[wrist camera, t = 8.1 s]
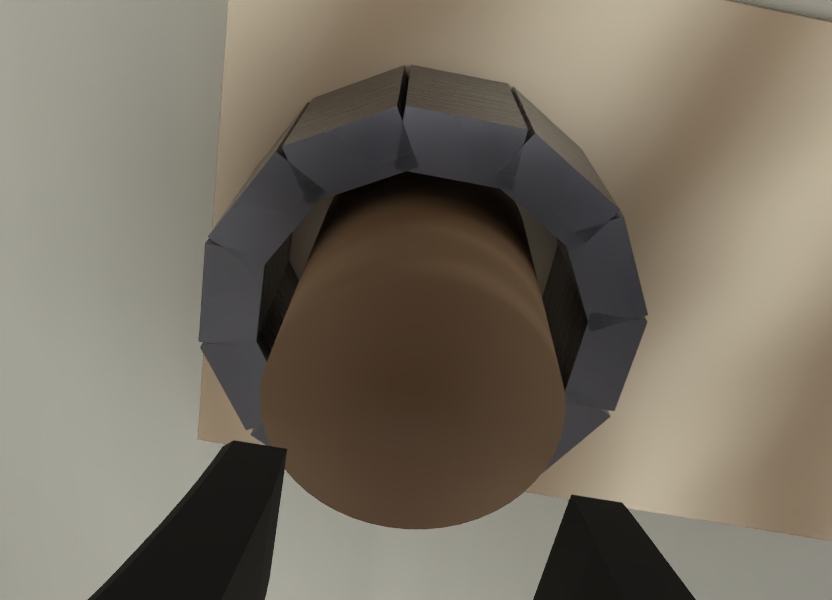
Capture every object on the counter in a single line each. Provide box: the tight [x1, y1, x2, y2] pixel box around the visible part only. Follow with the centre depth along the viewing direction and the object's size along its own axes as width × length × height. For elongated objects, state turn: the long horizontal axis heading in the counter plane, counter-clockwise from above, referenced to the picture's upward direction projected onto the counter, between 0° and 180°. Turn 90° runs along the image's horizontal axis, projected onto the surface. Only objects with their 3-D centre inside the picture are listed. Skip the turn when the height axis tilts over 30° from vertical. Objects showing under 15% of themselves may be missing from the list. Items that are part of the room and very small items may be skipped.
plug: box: [260, 171, 566, 529], centre depth 14 cm, size 4×4×6 cm
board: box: [197, 0, 832, 541], centre depth 17 cm, size 18×12×1 cm, turn 79°
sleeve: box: [199, 65, 648, 473], centre depth 15 cm, size 8×8×4 cm
